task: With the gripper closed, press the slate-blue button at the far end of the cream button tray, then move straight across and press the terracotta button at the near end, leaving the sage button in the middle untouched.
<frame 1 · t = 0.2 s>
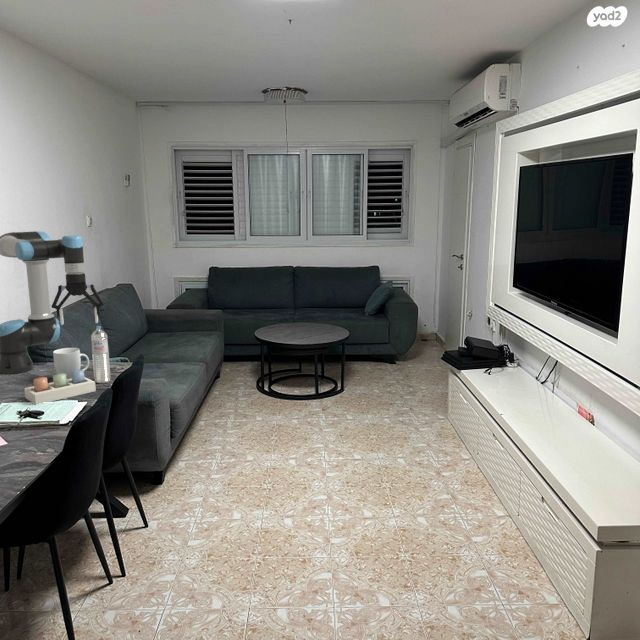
hand: (79, 323, 242), 28 cm above the table, fingers open, 13 cm apart
cream button tray: (61, 394, 238), on the table
mug: (71, 378, 261), on the table
water bottle: (102, 381, 255), on the table
button blue: (78, 377, 242), point 6 cm above the table, slide at 0.0 cm
button sage: (59, 380, 237), point 6 cm above the table, slide at 0.0 cm
button terracotta: (40, 384, 232), point 6 cm above the table, slide at 0.0 cm
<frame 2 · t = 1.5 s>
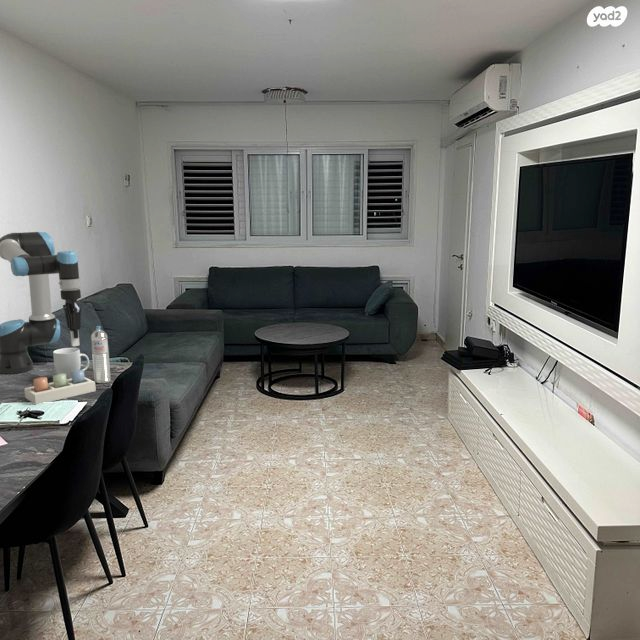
hand: (75, 345, 239), 20 cm above the table, fingers closed
nothing on the table moved.
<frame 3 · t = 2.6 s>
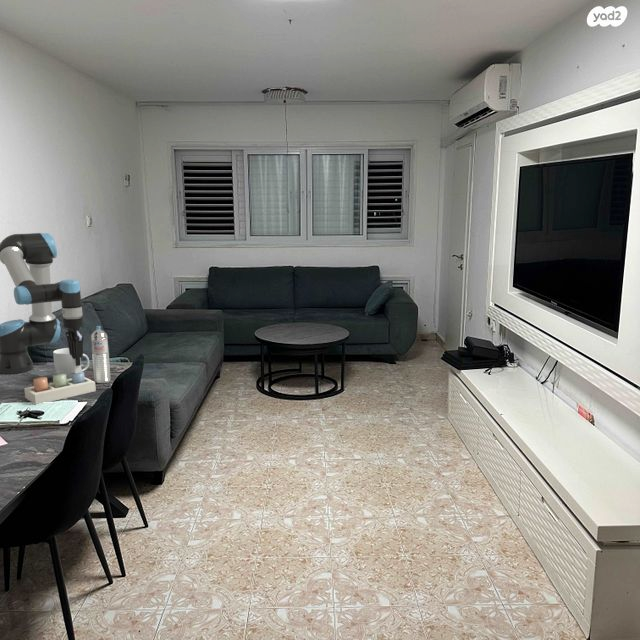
hand: (77, 372, 242), 8 cm above the table, fingers closed
button blue: (78, 378, 242), point 5 cm above the table, slide at 0.8 cm, touching gripper
everything else where it was.
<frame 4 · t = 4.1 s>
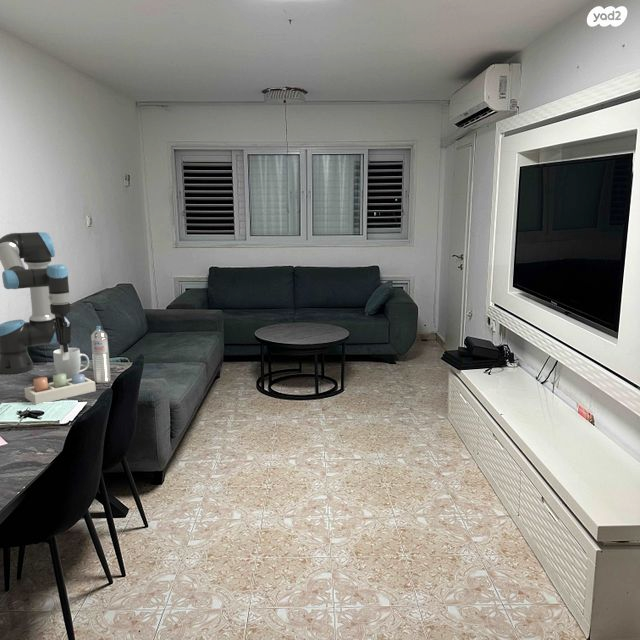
hand: (65, 359, 237), 14 cm above the table, fingers closed
button blue: (78, 381, 243), point 4 cm above the table, slide at 1.8 cm
everything else where it was.
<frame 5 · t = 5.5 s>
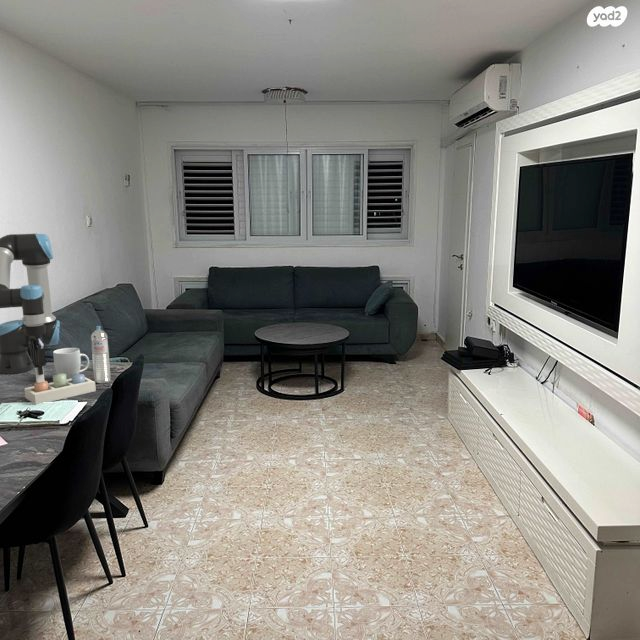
hand: (40, 381, 231), 7 cm above the table, fingers closed
button terracotta: (41, 388, 232), point 4 cm above the table, slide at 1.5 cm, touching gripper
everything else where it was.
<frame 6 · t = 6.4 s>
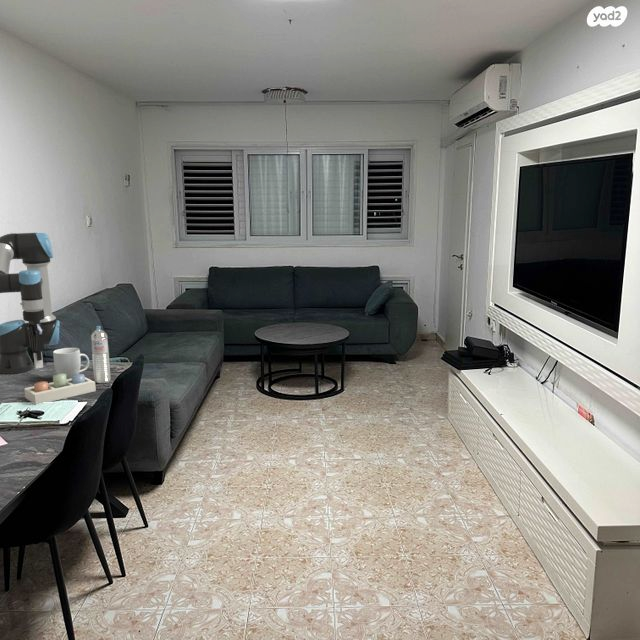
hand: (39, 367, 231), 13 cm above the table, fingers closed
button terracotta: (41, 389, 232), point 4 cm above the table, slide at 1.8 cm
everything else where it was.
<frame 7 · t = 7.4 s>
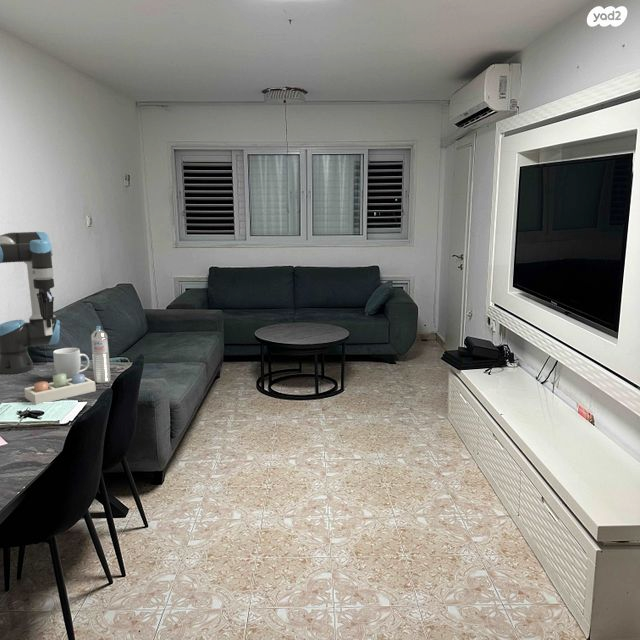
hand: (48, 334, 239), 24 cm above the table, fingers closed
nothing on the table moved.
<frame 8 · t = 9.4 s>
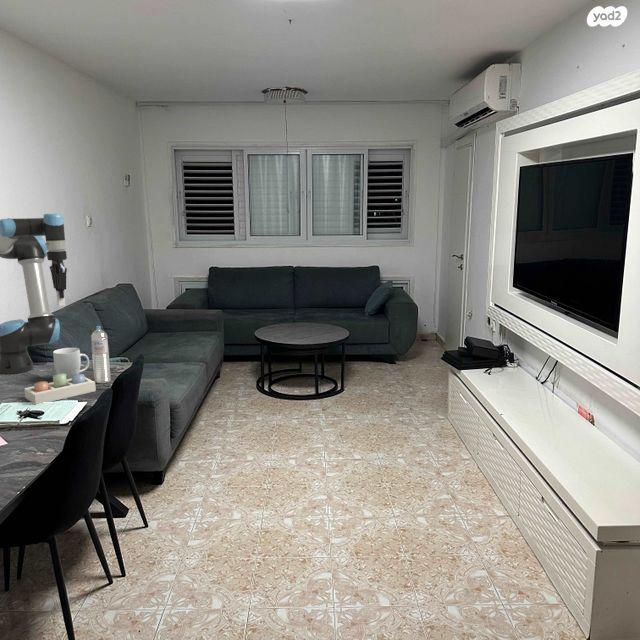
hand: (61, 305, 248), 34 cm above the table, fingers closed
nothing on the table moved.
at the end: button blue slide at 1.8 cm; button terracotta slide at 1.8 cm; button sage slide at 0.0 cm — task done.
